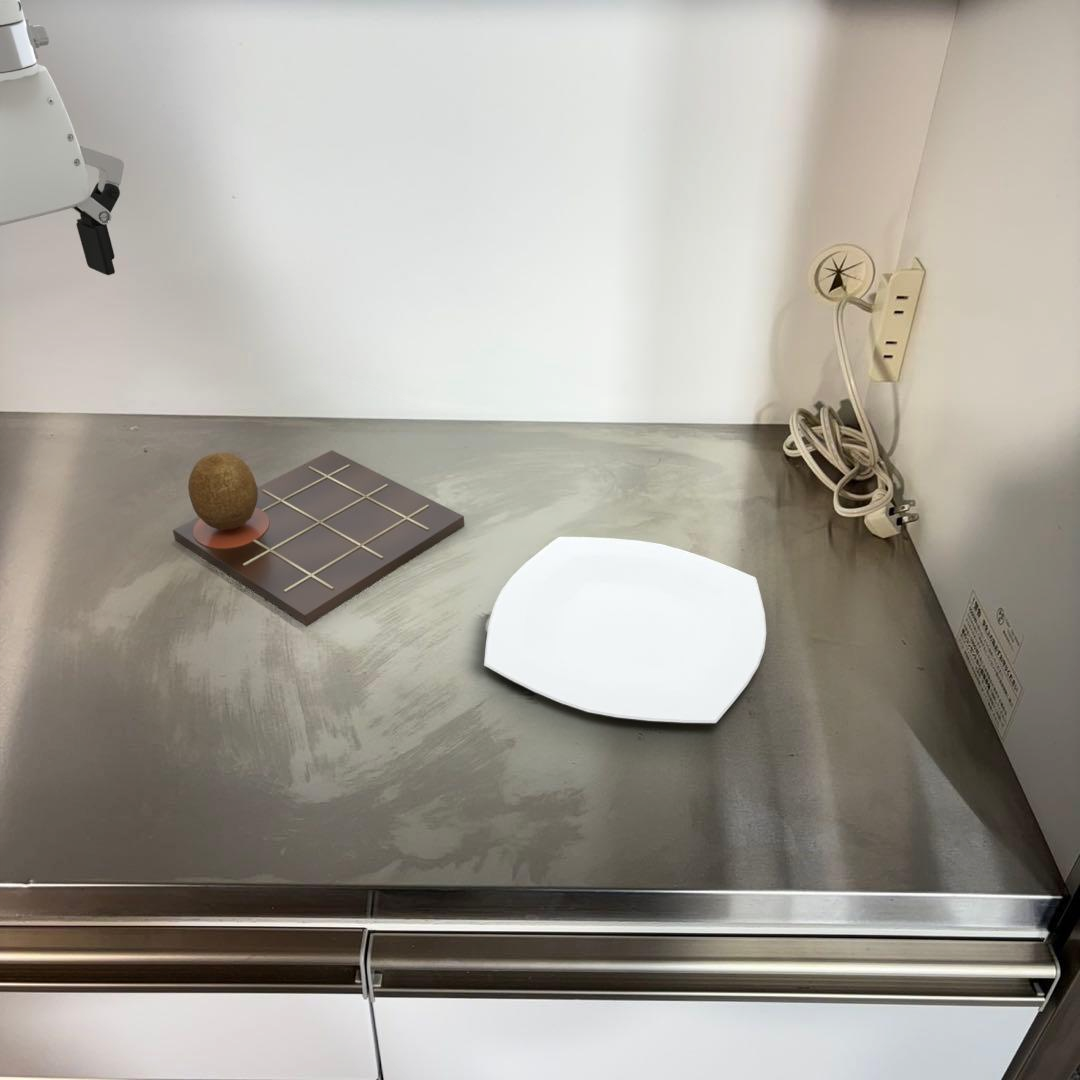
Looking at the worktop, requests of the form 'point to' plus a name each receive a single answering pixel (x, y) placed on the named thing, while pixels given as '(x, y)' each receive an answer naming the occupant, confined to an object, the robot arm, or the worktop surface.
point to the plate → (628, 630)
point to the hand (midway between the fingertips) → (46, 287)
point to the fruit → (223, 491)
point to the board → (323, 535)
